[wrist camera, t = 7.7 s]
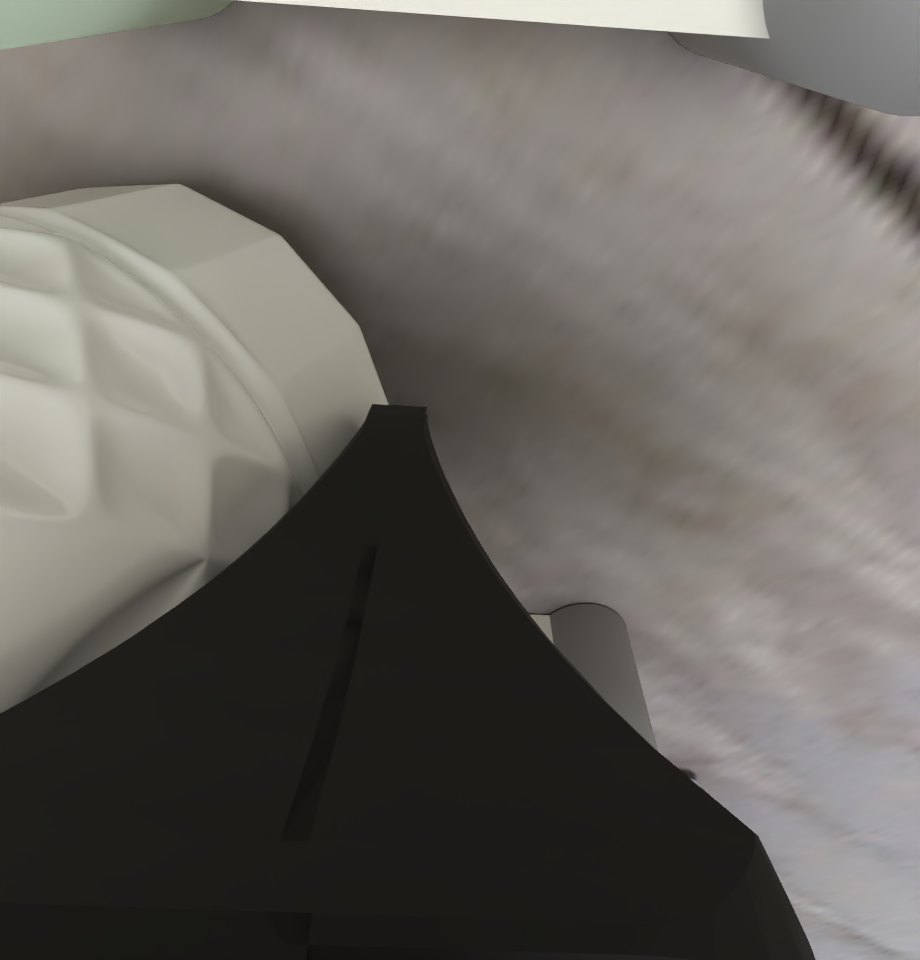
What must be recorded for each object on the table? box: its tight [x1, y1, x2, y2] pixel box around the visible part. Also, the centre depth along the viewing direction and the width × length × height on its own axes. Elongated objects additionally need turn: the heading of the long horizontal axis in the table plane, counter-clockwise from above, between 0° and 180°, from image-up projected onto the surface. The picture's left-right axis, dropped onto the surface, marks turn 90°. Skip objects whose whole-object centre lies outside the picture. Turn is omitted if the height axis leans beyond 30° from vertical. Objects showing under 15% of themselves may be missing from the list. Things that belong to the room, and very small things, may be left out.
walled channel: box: [0, 0, 920, 751], centre depth 10 cm, size 14×9×5 cm, turn 177°
